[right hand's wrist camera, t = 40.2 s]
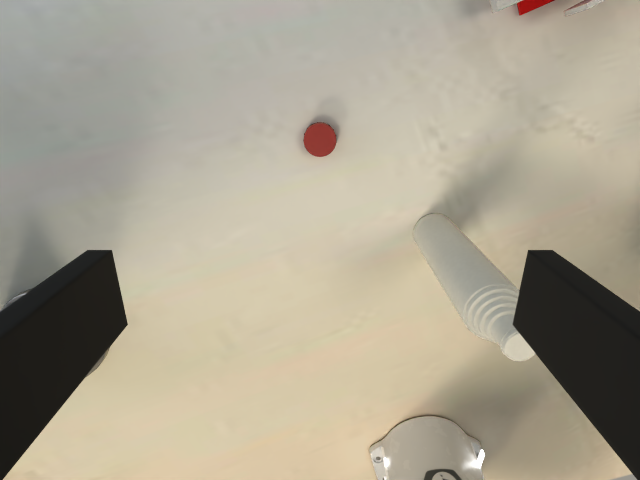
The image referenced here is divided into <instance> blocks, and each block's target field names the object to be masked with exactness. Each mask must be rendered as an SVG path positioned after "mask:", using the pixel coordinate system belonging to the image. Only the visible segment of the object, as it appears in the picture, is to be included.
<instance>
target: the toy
mask: <svg viewBox="0 0 640 480" xmlns="http://www.w3.org/2000/svg"><path fill="white" fill-rule="evenodd" d="M552 1H554V0H490V5H491V10H492V13H494V12H497V11H499V10H502V9H504V8H506V7H509V6H511V5H513V4H516V3H517V6H518V10H519V15H522V14H525V13H527V12H529V11H531V10H534V9H536V8H538V7H540V6H543V5H545V4H547V3H550V2H552ZM602 1H604V0H584V1H582V2H580V3H578V4H576V5H575V6H573V7H571V8H569V9H567V10H565V11H564V14H565V16H569V15H572V14H575V13H578V12H581V11H584V10H587V9H589V8H591V7H593V6H595V5H597V4H599V3H601V2H602Z"/></svg>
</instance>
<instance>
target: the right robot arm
mask: <svg viewBox="0 0 640 480" xmlns="http://www.w3.org/2000/svg"><path fill="white" fill-rule="evenodd" d="M127 325H128V324H127V319H126V315H125V310H124V305H123V301H122V296H121V291H120V287H119V282H118V277H117V272H116V268H115V263H114V258H113V254H112V250H87V251H86V252H84V253H83V254H81V255H80V256H79V257H77V258H76V259H74V260H73V261H71V262H70V263H69V264H67V265H66V266H64V267H63V268H62V269H60V270H59V271H57V272H56V273H54V274H53V275H52V276H50V277H49V278H47V279H46V280H45V281H43V282H42V283H40V284H39V285H37V286H36V287H35V288H33V289H30V290H27V291H24V292H22V293H20V294H19V295H17V296H16V297H14V298H13V299H11V300H10V301H9V302H8V303H6V305H5V306H4V307H3V308H2V309H1V310H0V480H3V478H4V477H5V476H6V475H7V473H8V472H9V471H10V470H11V469H12V467H13V466H14V465H15V464H16V462H17V461H18V460H19V459H20V457H21V456H22V455H23V454H24V452H25V451H26V450H27V449H28V447H29V446H30V445H31V444H32V443H33V441H34V440H35V439H36V438H37V436H38V435H39V434H40V433H41V431H42V430H43V429H44V428H45V426H46V425H47V424H48V423H49V421H50V420H51V419H52V418H53V416H54V415H55V414H56V413H57V412H58V410H59V409H60V408H61V407H62V405H63V404H64V403H65V402H66V400H67V399H68V398H69V397H70V395H71V394H72V393H73V392H74V390H75V389H76V388H77V387H78V385H79V384H80V383H81V382H82V381H83V379H84V378H85V377H87V376H88V375H89V374H91V373H92V372H93V371H94V370H95V369H97V367H98V366H99V365H100V364H101V363H102V361H103V360H104V359H105V357H106V355H107V353H108V350H109V347H110V346H111V345H112V343H113V342H114V341H115V340H116V338H117V337H118V336H119V335H120V333H121V332H122V331H123V330H124V328H125V327H126V326H127ZM512 325H513V326H514V327H515V328H516V330H517V331H518V332H519V333H520V335H521V336H522V337H523V338H524V340H525V341H526V342H527V343H528V345H529V346H530V347H531V348H532V350H533V351H534V352H535V353H536V355H537V356H538V357H539V358H540V359H541V361H542V362H543V363H544V364H545V366H546V367H547V368H548V369H549V371H550V372H551V373H552V374H553V376H554V377H555V378H556V379H557V381H558V382H559V383H560V384H561V385H562V387H563V388H564V389H565V390H566V392H567V393H568V394H569V395H570V397H571V398H572V399H573V400H574V402H575V403H576V404H577V405H578V407H579V408H580V409H581V410H582V412H583V413H584V414H585V415H586V416H587V418H588V419H589V420H590V421H591V423H592V424H593V425H594V426H595V428H596V429H597V430H598V431H599V433H600V434H601V435H602V436H603V438H604V439H605V440H606V441H607V443H608V444H609V445H610V446H611V447H612V449H613V450H614V451H615V452H616V454H617V455H618V456H619V457H620V459H621V460H622V461H623V462H624V464H625V465H626V466H627V467H628V469H629V470H630V471H631V472H632V473H633V475H634V476H635V477H636V478H637V480H640V312H639V311H638V310H637V309H635V308H634V307H632V306H631V305H629V304H628V303H627V302H625V301H624V300H622V299H621V298H620V297H618V296H617V295H615V294H614V293H612V292H611V291H610V290H608V289H607V288H605V287H604V286H603V285H601V284H600V283H598V282H597V281H595V280H594V279H593V278H591V277H590V276H588V275H587V274H586V273H584V272H583V271H581V270H580V269H578V268H577V267H576V266H574V265H573V264H571V263H570V262H569V261H567V260H566V259H564V258H563V257H561V256H560V255H559V254H557V253H556V252H554V251H553V250H528V254H527V258H526V263H525V268H524V272H523V277H522V282H521V287H520V291H519V296H518V301H517V305H516V310H515V315H514V319H513V324H512Z"/></svg>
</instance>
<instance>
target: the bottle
mask: <svg viewBox="0 0 640 480" xmlns="http://www.w3.org/2000/svg"><path fill="white" fill-rule="evenodd" d="M413 238H414V241H415V243H416V245H417V247H418V248H419V250H420V252H421V253H422V255H423V256H424V258H425V260H426V261H427V263H428V265H429V266H430V268H431V270H432V271H433V273H434V275H435V276H436V278H437V279H438V281H439V283H440V284H441V286H442V288H443V289H444V291H445V293H446V294H447V296H448V298H449V299H450V301H451V302H452V304H453V306H454V307H455V309H456V311H457V312H458V314H459V316H460V317H461V319H462V321H463V322H464V324H465V325H466V327H467V328H468V329H469V330H470V331H471V332H472V333H473V334H475V335H476V336H478V337H480V338H482V339H485V340H488V341H491V342H494V343H497V344H498V345H499V346H500V349H501V351H502V353H503V354H504V355H505V356H507V357H508V358H509V359H511V360H513V361H525V360H528V359H530V358H531V357H533V356H534V355H535V354H536V353H535V352H534V351H533V350H532V348H531V347H530V346H529V345H528V343H527V342H526V341H525V340H524V338H523V337H522V336H521V335H520V333H519V332H518V331H517V330H516V328H515V327H514V326H513V325H512V324H513V319H514V315H515V310H516V305H517V301H518V296H519V290H518V289H517V288H516V287H515V286H514V285H513V284H512V283H511V282H510V281H509V280H508V278H507V277H506V276H505V275H504V274H503V273H502V272H501V271H500V270H499V269H498V268H497V267H496V266H495V265H494V264H493V263H492V262H491V261H490V260H489V259H488V258H487V257H486V256H485V255H484V254H483V253H482V252H481V251H480V250H479V249H478V248H477V247H476V246H475V245H474V244H473V243H472V242H471V241H470V240H469V238H468V237H467V236H466V235H465V234H464V233H463V232H462V231H461V230H460V229H459V228H458V227H457V226H456V225H455V224H454V223H453V222H452V221H451V220H450V219H449V218H448V217H446V216H445V215H442V214H438V213H434V214H429V215H426V216H424V217H423V218H421V219H420V220H419V221H418V222H417V224H416V225H415V227H414V230H413Z"/></svg>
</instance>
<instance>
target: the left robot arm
mask: <svg viewBox="0 0 640 480" xmlns="http://www.w3.org/2000/svg"><path fill="white" fill-rule="evenodd" d="M369 452H370V456H371V460H372V463H373V466H374V469H375V473H376V476H377V479H378V480H485V479H484V476H483V473H482V471H481V468H480V467H481V464H482V461H483V458H484V455H485V454H484V452H483V450H482V448H481V445H480V442H479V441H478V440H476V439H474V438H472V437H470V436H468V435H466V434H465V433H464V431H463V430H462V429H461V428H460V427H459V426H458V425H457V424H455V423H454V422H452V421H450V420H448V419H445V418H441V417H435V416H423V417H417V418H413V419H410V420H407V421H405V422H402V423H401V424H399V425H397V426H396V427H395V428H393V429H392V430H391V431H390V432H389V433H388V435H387V436H386V437H385V438H384V439H383V440H381V441H379V442H377V443H375V444H374V445H372V446H371V447H370V448H369Z"/></svg>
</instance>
